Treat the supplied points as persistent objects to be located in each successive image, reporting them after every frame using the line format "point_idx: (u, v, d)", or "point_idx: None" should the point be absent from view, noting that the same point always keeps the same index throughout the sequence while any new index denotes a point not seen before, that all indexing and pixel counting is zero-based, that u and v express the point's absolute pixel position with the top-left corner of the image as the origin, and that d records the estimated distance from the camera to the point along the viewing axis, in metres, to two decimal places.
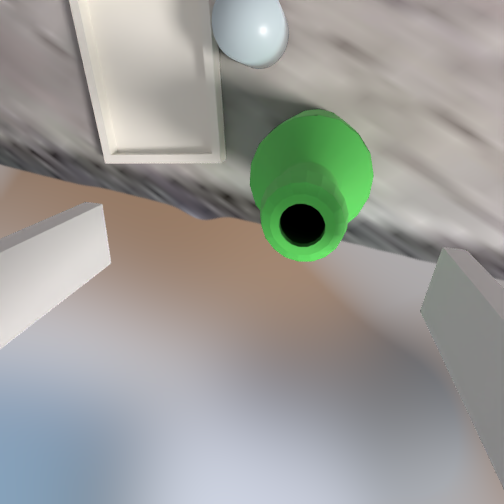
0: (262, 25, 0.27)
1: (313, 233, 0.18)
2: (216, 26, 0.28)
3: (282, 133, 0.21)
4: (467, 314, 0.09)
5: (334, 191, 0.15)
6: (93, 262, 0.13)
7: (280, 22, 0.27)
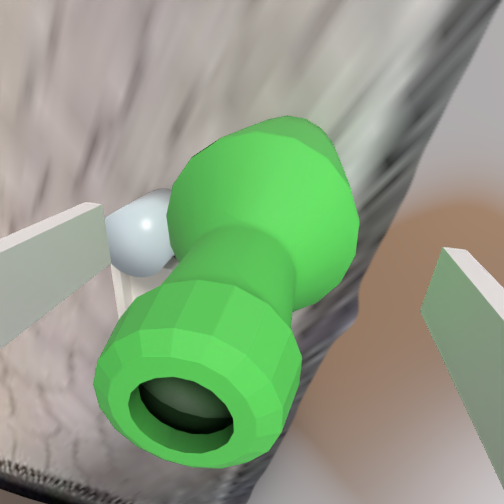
0: (135, 230, 0.26)
1: None
2: (137, 273, 0.28)
3: None
4: (466, 314, 0.09)
5: (123, 322, 0.06)
6: (93, 262, 0.13)
7: (132, 211, 0.25)
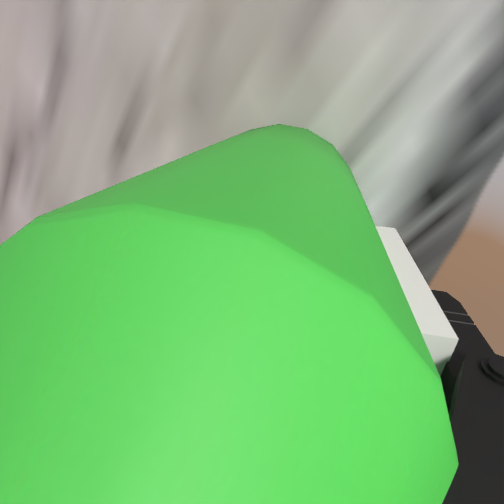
0: None
1: None
2: None
3: None
4: None
5: None
6: None
7: None
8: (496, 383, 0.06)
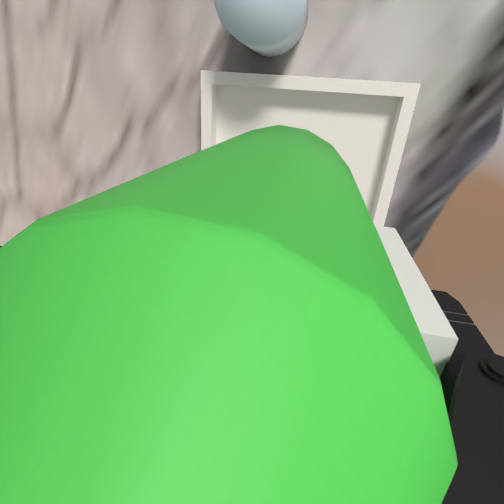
0: None
1: None
2: (257, 37, 0.22)
3: None
4: None
5: None
6: None
7: None
8: (496, 383, 0.06)
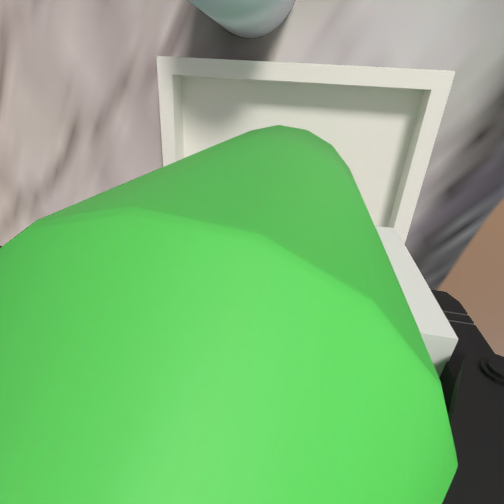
0: None
1: None
2: (224, 2, 0.15)
3: None
4: None
5: None
6: None
7: None
8: (496, 383, 0.06)
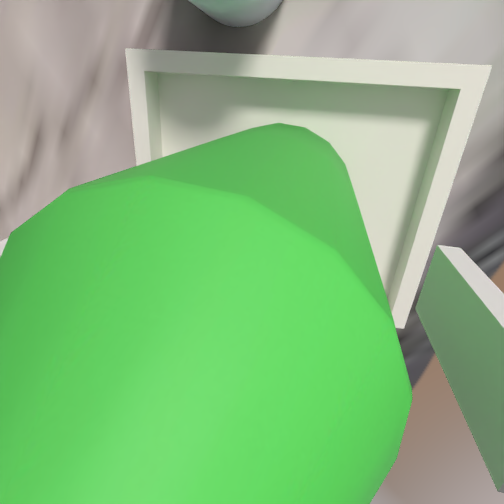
0: None
1: None
2: None
3: None
4: (459, 310, 0.09)
5: None
6: None
7: None
8: None
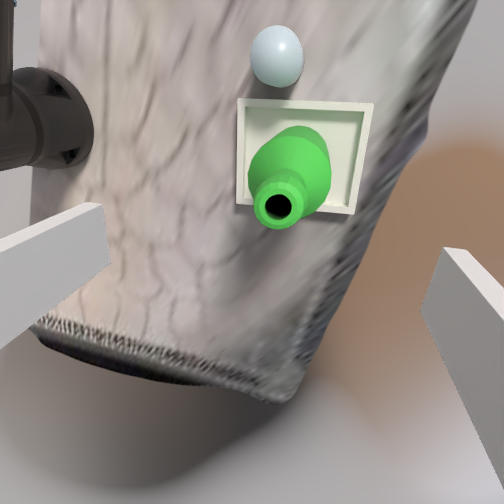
0: (279, 42, 0.36)
1: None
2: (275, 82, 0.38)
3: (254, 197, 0.34)
4: (467, 313, 0.09)
5: (262, 185, 0.25)
6: (93, 262, 0.13)
7: (280, 26, 0.36)
8: None
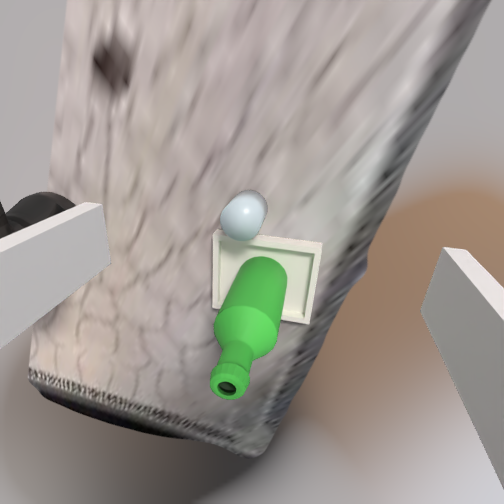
0: (243, 213, 0.46)
1: None
2: (240, 238, 0.48)
3: None
4: (466, 314, 0.09)
5: (216, 371, 0.35)
6: (93, 262, 0.13)
7: (243, 202, 0.45)
8: None
